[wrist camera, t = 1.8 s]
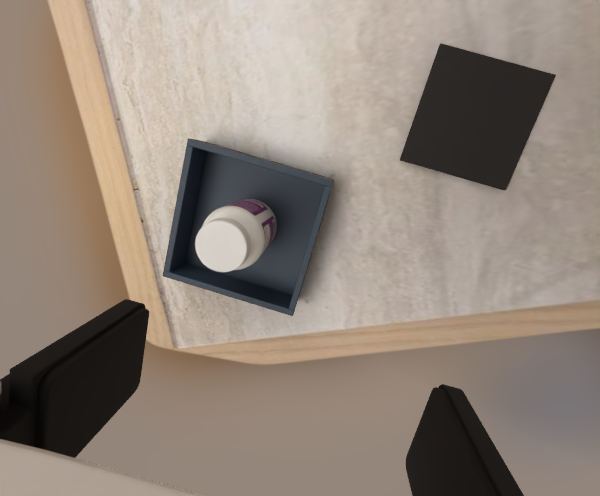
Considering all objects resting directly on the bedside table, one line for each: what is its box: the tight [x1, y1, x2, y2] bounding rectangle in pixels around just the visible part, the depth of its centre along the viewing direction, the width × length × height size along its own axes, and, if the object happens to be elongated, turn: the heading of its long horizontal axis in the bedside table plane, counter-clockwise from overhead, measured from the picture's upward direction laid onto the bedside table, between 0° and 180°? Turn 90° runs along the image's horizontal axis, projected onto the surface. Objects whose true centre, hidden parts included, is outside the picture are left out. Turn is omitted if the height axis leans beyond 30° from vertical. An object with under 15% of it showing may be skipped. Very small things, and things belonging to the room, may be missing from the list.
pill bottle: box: [195, 199, 277, 272], centre depth 29 cm, size 5×5×10 cm
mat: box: [400, 44, 556, 190], centre depth 30 cm, size 10×10×1 cm
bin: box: [163, 139, 334, 316], centre depth 32 cm, size 13×13×4 cm
